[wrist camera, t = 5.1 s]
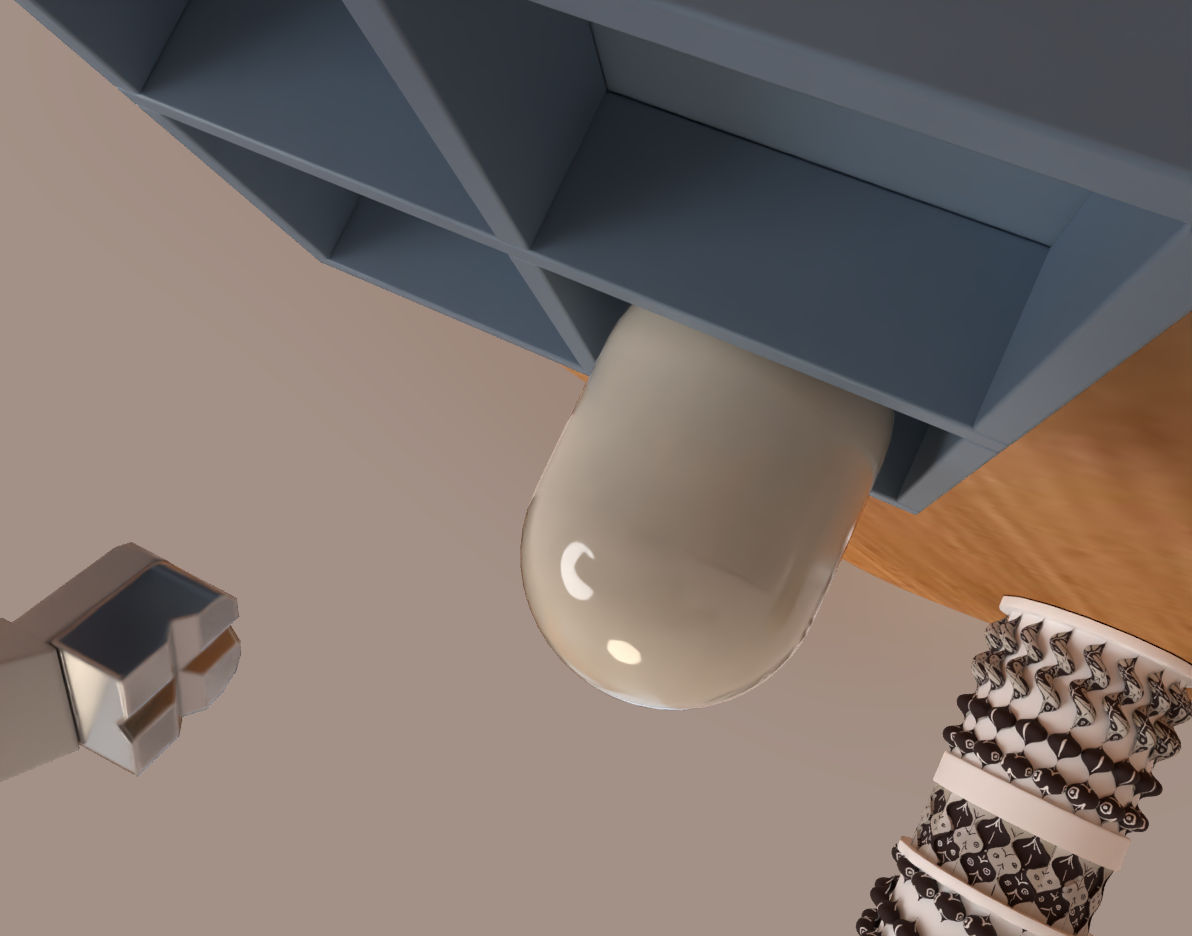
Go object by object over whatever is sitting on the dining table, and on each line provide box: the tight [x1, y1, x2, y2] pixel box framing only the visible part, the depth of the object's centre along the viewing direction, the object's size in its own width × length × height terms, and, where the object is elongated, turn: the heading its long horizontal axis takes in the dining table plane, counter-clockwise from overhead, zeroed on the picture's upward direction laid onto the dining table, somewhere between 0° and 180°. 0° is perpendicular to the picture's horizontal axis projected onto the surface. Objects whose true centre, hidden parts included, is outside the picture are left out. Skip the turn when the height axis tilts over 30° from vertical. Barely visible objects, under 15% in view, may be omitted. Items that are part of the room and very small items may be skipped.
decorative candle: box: [856, 596, 1192, 936], centre depth 42 cm, size 9×9×25 cm
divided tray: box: [15, 0, 1192, 514], centre depth 13 cm, size 14×14×3 cm
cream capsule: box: [521, 304, 895, 710], centre depth 16 cm, size 5×5×8 cm
